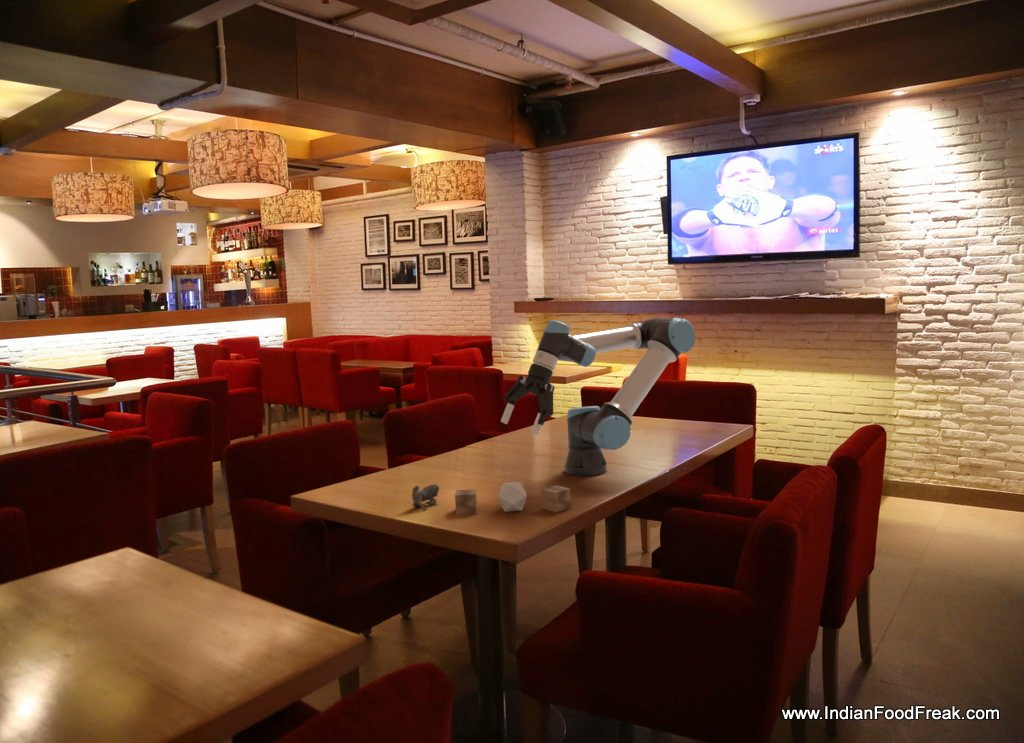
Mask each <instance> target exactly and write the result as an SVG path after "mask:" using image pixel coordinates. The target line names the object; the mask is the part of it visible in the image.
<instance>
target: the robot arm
mask: <svg viewBox="0 0 1024 743" xmlns="http://www.w3.org/2000/svg"><path fill="white" fill-rule="evenodd" d="M570 331H571V330H570V326H569V325H568V324H566V323H564V322H562V321H558V320H555V319H551V320H549V321H548V322H547V324H546V326H545V329H544V330H543V334H542V335H541V338H540V341H539V344H538V346H537V349H536V351H535V353H534V354H535V355H534V357H533V359H532V363H531V364H530V367H529V369H528V371H527V374H528V376H527V377H525V376H523V375H519V376H518V379H517V381H516V382H515V383H514V384H513V385H512V386H511V387H510V389H509V390H508V391H507V392H506V394H504V395H503V397H502V400H505V402H506V403H505V406H504V408H503V414H502V416H501V418H500V422H501V423H503V424H505V425H508V423H509V421H510V419H511V416H512V412H513V410H514V408H515V403H516V402H518V401H519V400H520V399H522V398H523V397H525V396H526V395H528V394H531V395H535V396H536V398H537V401H538V407H539V410H540V411H539V412H537V416H536V418H535V420H534V423H533V425H532V428H531V429H530V430H531V431H530V433H532V434H533V435H535V436H536V435H537V436H538V435H539V432H540V430H541V427H542V426H543V425H544V424H545V422H546V418H547V417H548V416H553V415H554V391H555V386H554V385H553V384H551V383H549V382H550V381H551V378H552V376H553V374H554V373H553V371H554V370H555V369H556V367H557V363H558V361H562V362H570V363H574V364H577V365H578V366H581V367H585V368H586V367H590V365H592V363H594V361H595V358H596V355H597V354H601V353H606V352H607V353H608V352H613V351H619V350H624V349H631V350H633V351H634V350H635V351H636V350H641V349H642V350H643V349H645V350H646V352H645V353H644V354H643V356H642V357H641V358H640V360H639V361H638V363H637V364H636V365H635V367H634V369H633V370H632V371H631V373H630V374H629V376H628V377H627V378H626V379H625V381H624V383H623V384H622V385H621V387H620V388H619V389H618V390H617V392H616V394H615V395H614V397H613V398H612V399H611V401H609V402H604V403H603V404H602V406H601V407H600V406H598V405H592V406H591V405H590V406H589V405H588V406H580V407H579V406H578V407H573V408H570V409H568V410H567V414H566V422H567V440H568V441H567V443H568V449H567V450H568V451H567V455H566V458H565V462H564V465H563V467H564V470H563V471H564V473H566V474H567V475H570V476H571V475H572V476H581V477H582V476H583V477H584V476H596V475H602V474H605V473H606V472H607V471H608V465H607V461H606V458H605V455H604V452H603V450H609V451H615V450H618V449H621V448H622V447H624V446H625V445H626V444H627V442H628V441H629V439H630V437H631V429H632V428H631V426H632V424H633V418H632V416H633V415H634V413H635V412H636V411H637V409H638V408H639V406H640V404H641V403H642V402H643V401H644V399H645V398H646V397H647V395H648V393H649V392H650V390H651V389H652V387H653V386H654V385H655V383H656V382H657V381H658V379H659V378H660V377H661V375H662V373H663V372H664V371H665V369H666V367H667V366H668V364H670V363H671V364H672V363H674V362H676V361H677V360H678V358H679V356H680V355H681V354H682V353H688V352H689V351H691V350H692V348H694V346H695V343H696V330H695V328H694V325H693V324H692V323H691V322H690V321H689V320H687V319H685V318H681V317H673V318H672V317H671V318H669V317H655V318H649V319H646V320H641V321H638V322H632V323H628V324H627V325H626V326H625V327H624V326H623V327H618V328H613V329H612V328H611V329H607V330H606V329H605V330H601V331H600V330H599V331H595V332H594V331H593V332H588V333H583V334H582V333H581V334H576V335H572V334H570Z"/></svg>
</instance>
